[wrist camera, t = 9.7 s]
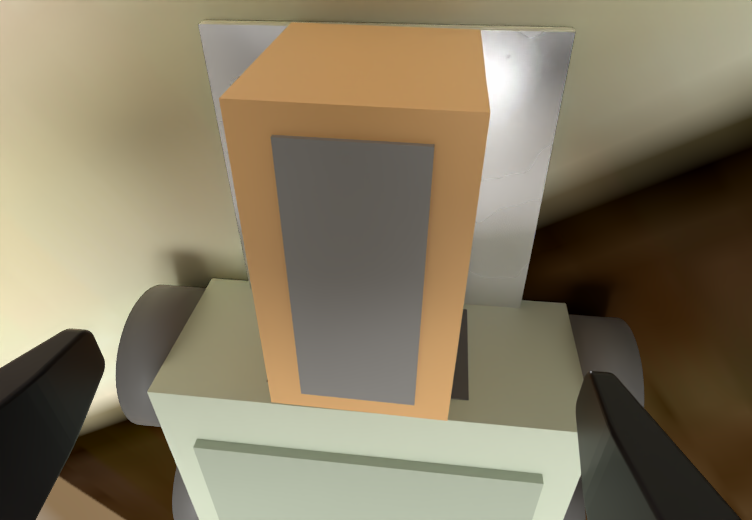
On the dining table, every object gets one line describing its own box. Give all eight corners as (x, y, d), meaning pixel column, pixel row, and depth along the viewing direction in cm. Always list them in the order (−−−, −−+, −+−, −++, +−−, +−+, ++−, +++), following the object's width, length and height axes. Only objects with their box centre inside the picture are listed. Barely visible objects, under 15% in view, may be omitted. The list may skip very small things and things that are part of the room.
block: (449, 291, 17) (447, 424, 13) (312, 280, 18) (270, 405, 14) (480, 29, 13) (491, 114, 9) (291, 22, 13) (216, 100, 9)
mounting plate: (572, 27, 13) (575, 31, 12) (519, 300, 18) (520, 308, 18) (204, 19, 14) (198, 24, 13) (253, 281, 19) (250, 288, 18)
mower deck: (616, 287, 17) (667, 429, 13) (549, 487, 24) (568, 622, 20) (168, 257, 19) (83, 376, 14) (227, 454, 26) (182, 572, 21)
